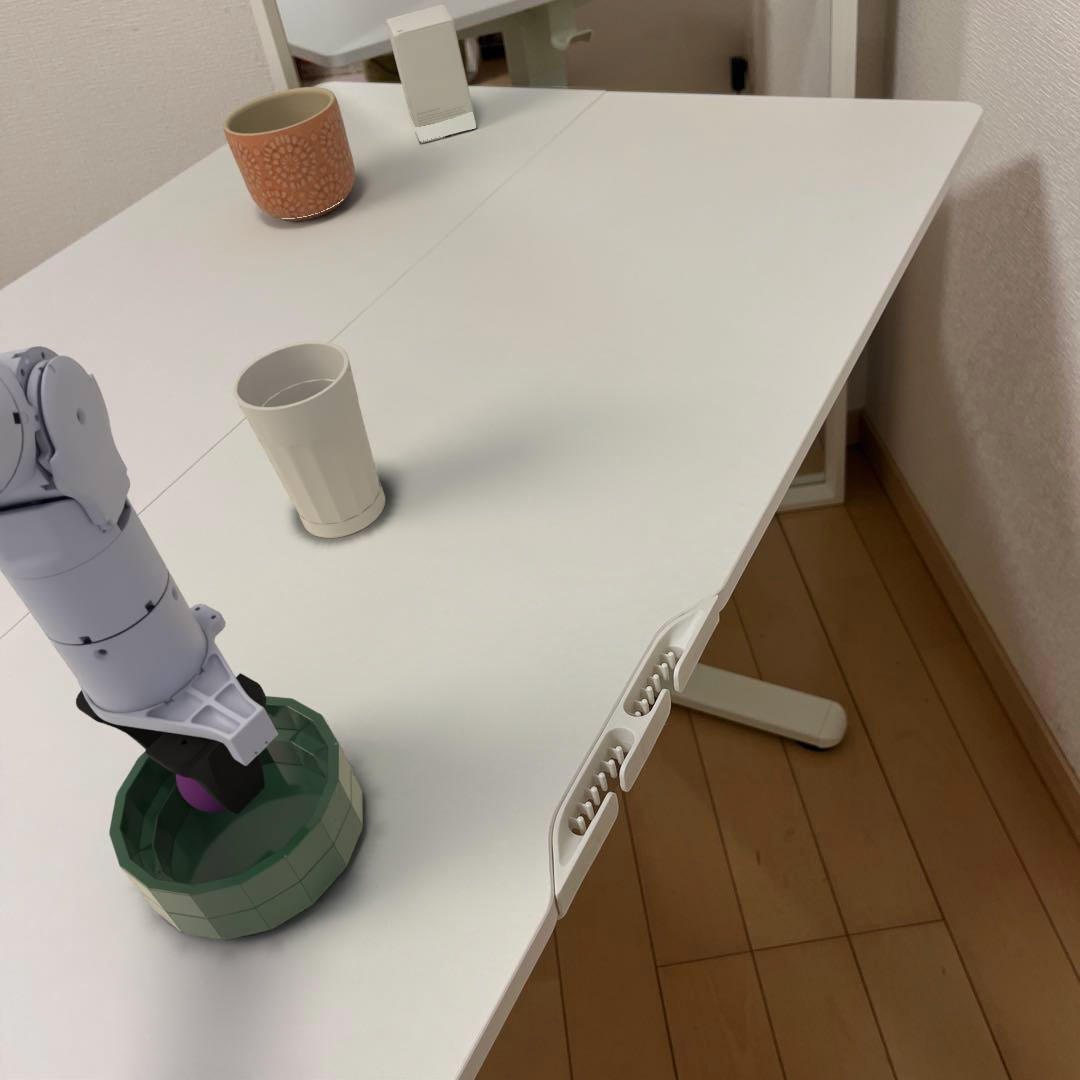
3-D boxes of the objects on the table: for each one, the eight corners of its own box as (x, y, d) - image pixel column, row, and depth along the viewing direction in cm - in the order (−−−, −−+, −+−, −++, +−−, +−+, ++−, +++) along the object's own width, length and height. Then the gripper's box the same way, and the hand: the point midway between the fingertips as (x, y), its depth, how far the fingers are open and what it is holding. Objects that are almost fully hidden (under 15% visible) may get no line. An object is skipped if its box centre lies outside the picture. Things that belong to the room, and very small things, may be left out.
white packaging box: (478, 129, 131) (454, 19, 123) (418, 145, 131) (390, 35, 123) (469, 109, 137) (445, 1, 129) (411, 124, 137) (383, 17, 128)
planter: (317, 238, 117) (282, 138, 110) (235, 227, 123) (197, 131, 116) (387, 185, 124) (359, 88, 117) (306, 177, 130) (275, 84, 123)
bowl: (248, 988, 54) (210, 938, 51) (107, 874, 61) (65, 823, 58) (410, 805, 61) (385, 750, 57) (266, 720, 67) (236, 666, 64)
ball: (226, 840, 56) (196, 795, 53) (178, 807, 58) (147, 761, 56) (282, 783, 58) (256, 736, 55) (234, 752, 60) (206, 706, 58)
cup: (405, 470, 84) (360, 335, 76) (384, 541, 78) (332, 403, 70) (306, 478, 85) (252, 346, 77) (278, 549, 79) (216, 414, 72)
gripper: (280, 591, 46) (371, 781, 55) (86, 497, 54) (193, 676, 63) (149, 708, 43) (269, 891, 52) (-38, 588, 51) (94, 765, 60)
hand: (220, 780), depth 57 cm, fingers closed on ball, 4 cm apart
